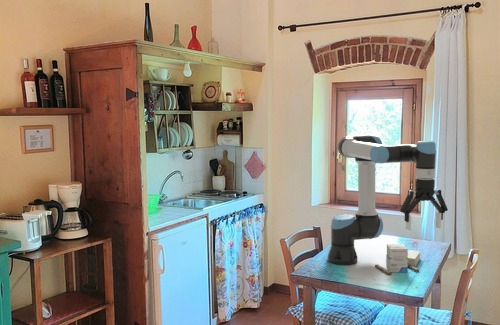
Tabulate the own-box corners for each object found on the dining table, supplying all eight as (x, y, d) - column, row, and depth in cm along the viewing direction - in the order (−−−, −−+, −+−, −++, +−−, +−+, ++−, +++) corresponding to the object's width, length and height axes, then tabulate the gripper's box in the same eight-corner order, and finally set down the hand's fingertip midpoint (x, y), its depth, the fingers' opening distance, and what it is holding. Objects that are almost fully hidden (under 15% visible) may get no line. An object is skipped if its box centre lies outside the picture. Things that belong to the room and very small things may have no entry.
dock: (386, 262, 235) (386, 254, 234) (392, 255, 247) (392, 247, 246) (415, 266, 228) (415, 258, 227) (420, 259, 240) (420, 251, 239)
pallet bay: (375, 267, 228) (375, 264, 228) (404, 264, 232) (404, 261, 232) (388, 275, 216) (388, 272, 216) (418, 271, 221) (419, 269, 220)
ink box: (403, 266, 228) (404, 243, 227) (407, 272, 220) (408, 248, 218) (385, 266, 229) (386, 243, 228) (389, 272, 221) (389, 248, 219)
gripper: (401, 180, 186) (400, 232, 188) (457, 178, 190) (455, 229, 192) (392, 178, 193) (391, 227, 195) (447, 176, 197) (445, 224, 200)
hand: (423, 228), depth 194 cm, fingers open, 13 cm apart
